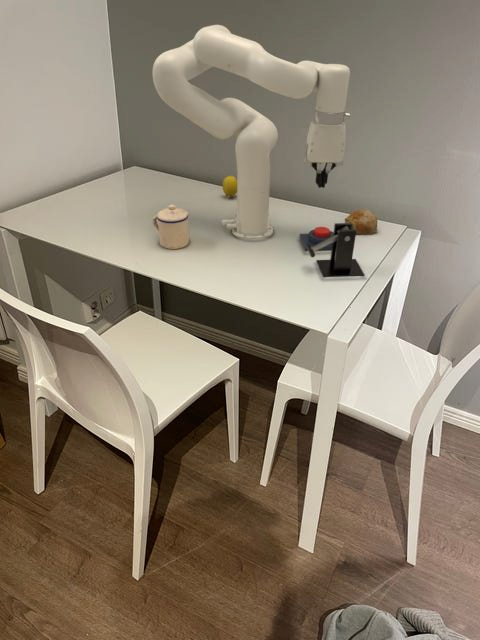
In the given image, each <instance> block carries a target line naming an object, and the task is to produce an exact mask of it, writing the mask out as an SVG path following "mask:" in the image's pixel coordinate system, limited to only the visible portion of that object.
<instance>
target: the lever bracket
mask: <svg viewBox="0 0 480 640" xmlns="http://www.w3.org/2000/svg"><path fill="white" fill-rule="evenodd" d="M345 226H347V227H348V228H349V230H339V229H341V228H343V227H345ZM351 229H352V224H351V223H345V222H344V223H343V222H342V223H341V222H339V223H337V222H336V223H334V227H333V236H335V235H337V234H338V237H337V241H335V242H333V243H332V249H331V251H330V257H329V259H316V260H315V261H316V264H317V266H318V269H319V271H320V274H321V276H322V278H342V277H345V278H346V277H365V273H364V271H363V270H362V267H361V265H360V264H359V262H358V261H357V259H356V258H353V255H354V249H355V243H356V236H357V234H356V230H351ZM337 230H338V232H337Z"/></svg>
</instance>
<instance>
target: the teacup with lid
mask: <svg viewBox="0 0 480 640" xmlns="http://www.w3.org/2000/svg"><path fill="white" fill-rule="evenodd" d="M152 225H153V226H154V228H155V230H156V231H157V232H158V237H159V244H160V246H162V247H163V248H165V249H170V250H176V249H183V248H185V247H186V246H187V245H188V244H189V243H190V232H189V213H188V211H187V210H185V209H183V208H180V207H176V205H175V204H169V205H167V207H166V208H164V209H161V210H160V211H158V212H157V213H156V215H154V216H153V218H152Z"/></svg>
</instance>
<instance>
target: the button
mask: <svg viewBox="0 0 480 640" xmlns="http://www.w3.org/2000/svg"><path fill="white" fill-rule="evenodd" d="M313 230H314V236H316V237H319V238H327V237H329V234H330V231H331V230H330V229H329V228H328V227H326V226H317V227H315V228H314V229H313Z"/></svg>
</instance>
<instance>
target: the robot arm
mask: <svg viewBox="0 0 480 640" xmlns="http://www.w3.org/2000/svg"><path fill="white" fill-rule="evenodd" d="M213 67H214V68H216V69H219V70H223V71H226V72H228V73H231V74H234V75H236V76H240V77H242V78H246V79H247V80H249V81H250V82H252V83H254V84H256V85H258V86H259V87H261V88H263V89H265V90H268V91H270V92H272V93H276V94H279V95H282V96H285V97H286V98H287V97H288V98H291V99H294V100H300V99H304V98H307V97H308V96H310V95H311V93H316V94H317V95H316V101H315V102H316V103H315V111H314V120H311V121H310V124H309V128H308V132H307V138H306V141H305V142H306V143H305V148H304V149H305V150H304V156H305V158H304V161H303V164H304V166H307V167H312V168H313V169H314V170H315V172H316V173H315V184H316V185H317V187H318V188H319V189H321V188H322V189H323V188H324V189H325V187H326V185H327V184H328V180H329V179H328V178H329V175H330V173H331V172H332V170H334V169H335V168H338V167H342V166H343V165H344V158H345V151H346V138H347V137H346V136H347V135H346V130H347V129H346V123H345V120H348V119H350V116H351V114H350V113H349V112H346V105H347V98H348V91H349V83H350V76H351V70H350V67H349V66H347V65H345V64H341V63H340V64H339V63H328V64H327V63H321V62H318V61H317V62H316V61H312V60H302V61H299V62H298V63H293V62H291V61H287V60H285V59H282V58H279V57H276V56H274V55H272V54H271V53H269V52H268V51H267V50H266V49H264V47H263V46H262V44H260V43H259V42H257V41H254V40H251V39H249V38H245V37H243V36H239V35H236V34H233V33H232V32H231V30H229V29H228V28H227V27H226V26H224V25H221V24H212V25H208V26H204V27H201V28H200V29H199V30H198V31H197V32H196V33H195V35H194V37H193V39H191V40H189V41H188V42H185V44H182V45H181V46H179V47H176V48H173V49H172V48H171V49H168V50H166V51H164V52H162V53H161V54H159V55H158V56H157V57H156V59H155V61H154V62H153V66H152V81H153V85H154V88H155V90H156V92H157V94H158V96H159V97H160V99H161V100H162V101H163V102H164V103H165V104H166V105H167V106H168V107H170V108H171V109H172V110H174V111H175V112H176V113H179V114H180V115H181V116H183V117H185V118H186V119H188V120H189V121H190V122H192V123H193V124H195V125H196V126H198V127H200V128H201V129H202V130H204V131H205V132H207V133H208V134H209V135H211V136H213V137H214V138H216V139H218V140H228V139H230V138H231V137H233V136H234V137H235V138H236V140H235V148H234V150H235V160H236V161H235V162H236V180H237V193H236V195H237V196H236V199H237V200H236V201H237V203H236V206H237V207H236V213H237V214H236V215H235V217H234V218H232V219H221V221H222V223H221V225H222V227H226V229H231V231H232V232H231V233H232V235H233V236H235V237H236V238H238V239H251V240H252V239H253V240H254V239H269V238H270V237H272V235H273V233H274V228H273V226H272V225H270V224H269V217H270V216H269V213H270V211H269V210H270V190H271V189H270V188H271V185H270V184H271V162H270V160H271V159H270V157H271V156H270V155H271V152H272V150H273V149H274V147H275V146H276V145H277V142H278V137H279V132H278V129H277V127H276V125H275V123H274V122H273V121H272V120H270V119H269V118H268V117H266V116H265V115H263V114H262V113H260V112H258V110H255V108H253V107H251V106H250V105H248V104H247V103H245V102H244V101H242V100H240V99H237V98H235V97H225V98H222V99H220V100H219V99H218V98H216V97H214V96H212V95H211V94H209V93H208V92H207V91H205V90H203V89H202V88H200V87H198V86H195V85H194V84H192V83H190V82H189V81H190V80H192V79H194V78H196V77H197V76H199V75H201V74H203V73H204V72H206V71H208V70H210V69H211V68H213ZM322 163H324V167H323V169H322Z"/></svg>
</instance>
